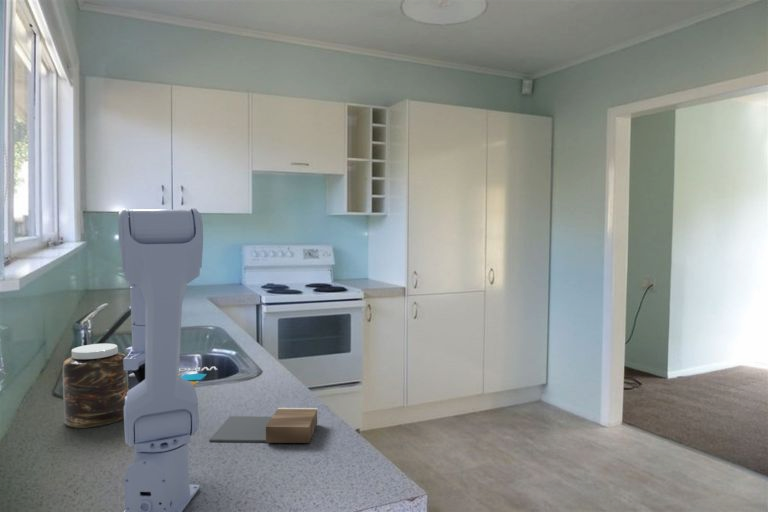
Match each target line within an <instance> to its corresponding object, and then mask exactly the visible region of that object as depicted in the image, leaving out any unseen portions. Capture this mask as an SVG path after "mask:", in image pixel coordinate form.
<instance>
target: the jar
mask: <svg viewBox="0 0 768 512" xmlns="http://www.w3.org/2000/svg"><path fill="white" fill-rule="evenodd" d="M125 357H127V356H126V354H125V353H123V352H119V351H118V345H117V344H115V343H92V344H86V345H80V346H77V347H74V348H72V349H71V357H69V358H67V359H65V360H64V361H63V362H62V363H63V364H62V397H63V415H64V425H66V426H67V427H70V428H77V429H84V428H85V429H86V428H97V427H102V426H106V425H107V426H108V425H111V424H114V423H117V422H120V421H121V420H124V405H125V397H126V396H127V392H128V391H129V374H128V373H129V372H128V371H129V370H124V364H123V359H124V358H125Z"/></svg>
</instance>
